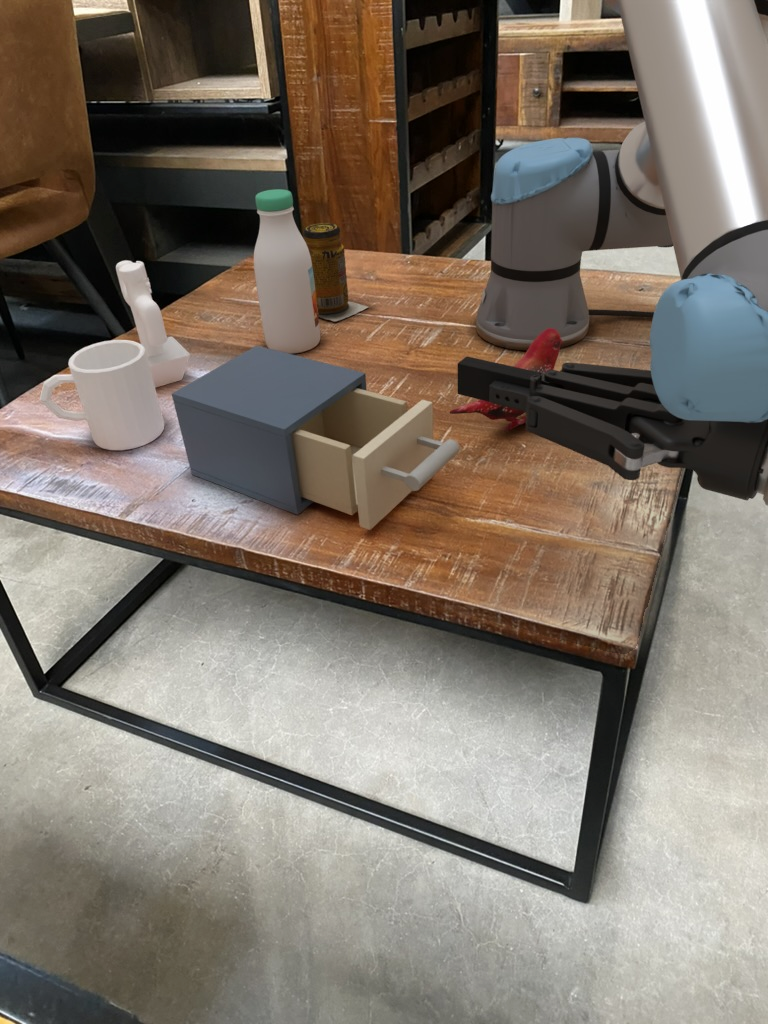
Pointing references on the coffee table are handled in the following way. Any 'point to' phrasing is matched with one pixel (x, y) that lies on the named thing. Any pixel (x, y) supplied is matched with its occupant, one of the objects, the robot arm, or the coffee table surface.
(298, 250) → the milk bottle
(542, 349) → the decorative bird figurine
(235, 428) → the cabinet
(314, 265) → the condiment
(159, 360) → the figurine
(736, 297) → the robot arm
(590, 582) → the coffee table surface
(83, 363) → the mug
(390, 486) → the drawer
